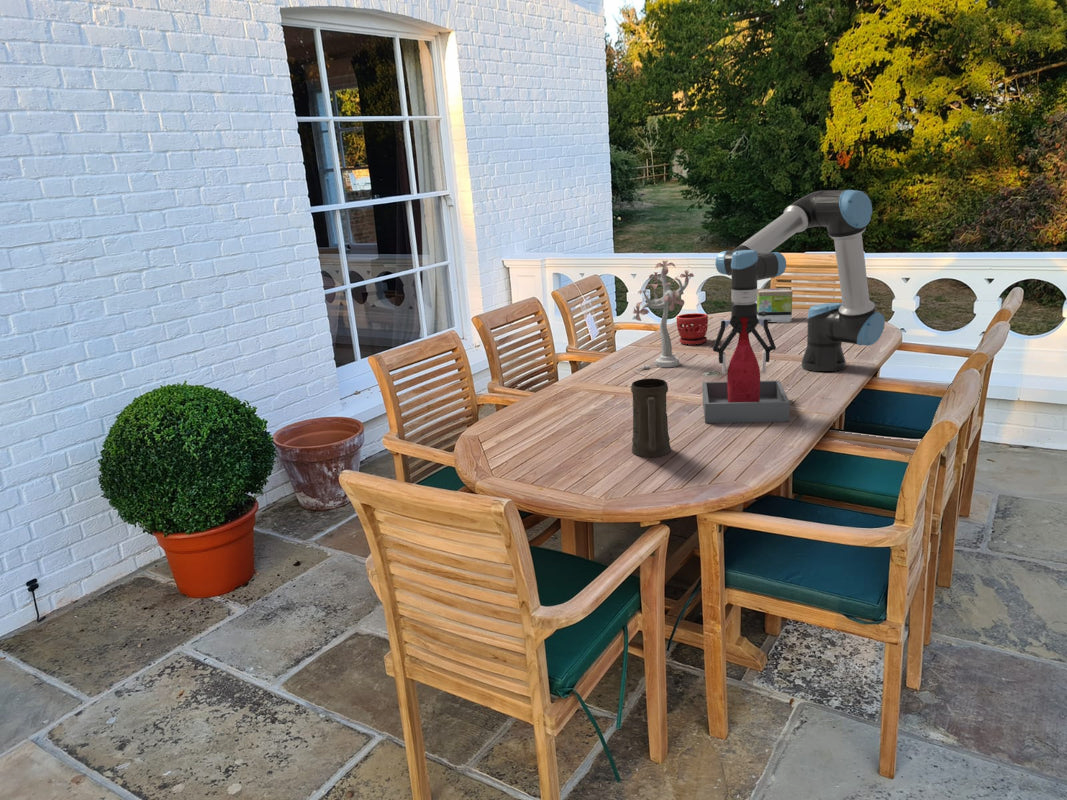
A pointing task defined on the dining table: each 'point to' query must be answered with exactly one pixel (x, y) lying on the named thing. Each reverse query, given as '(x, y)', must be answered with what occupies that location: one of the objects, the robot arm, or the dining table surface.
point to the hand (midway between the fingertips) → (743, 372)
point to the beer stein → (650, 418)
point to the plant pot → (692, 328)
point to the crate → (745, 404)
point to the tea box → (774, 304)
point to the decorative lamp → (663, 302)
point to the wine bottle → (743, 370)
